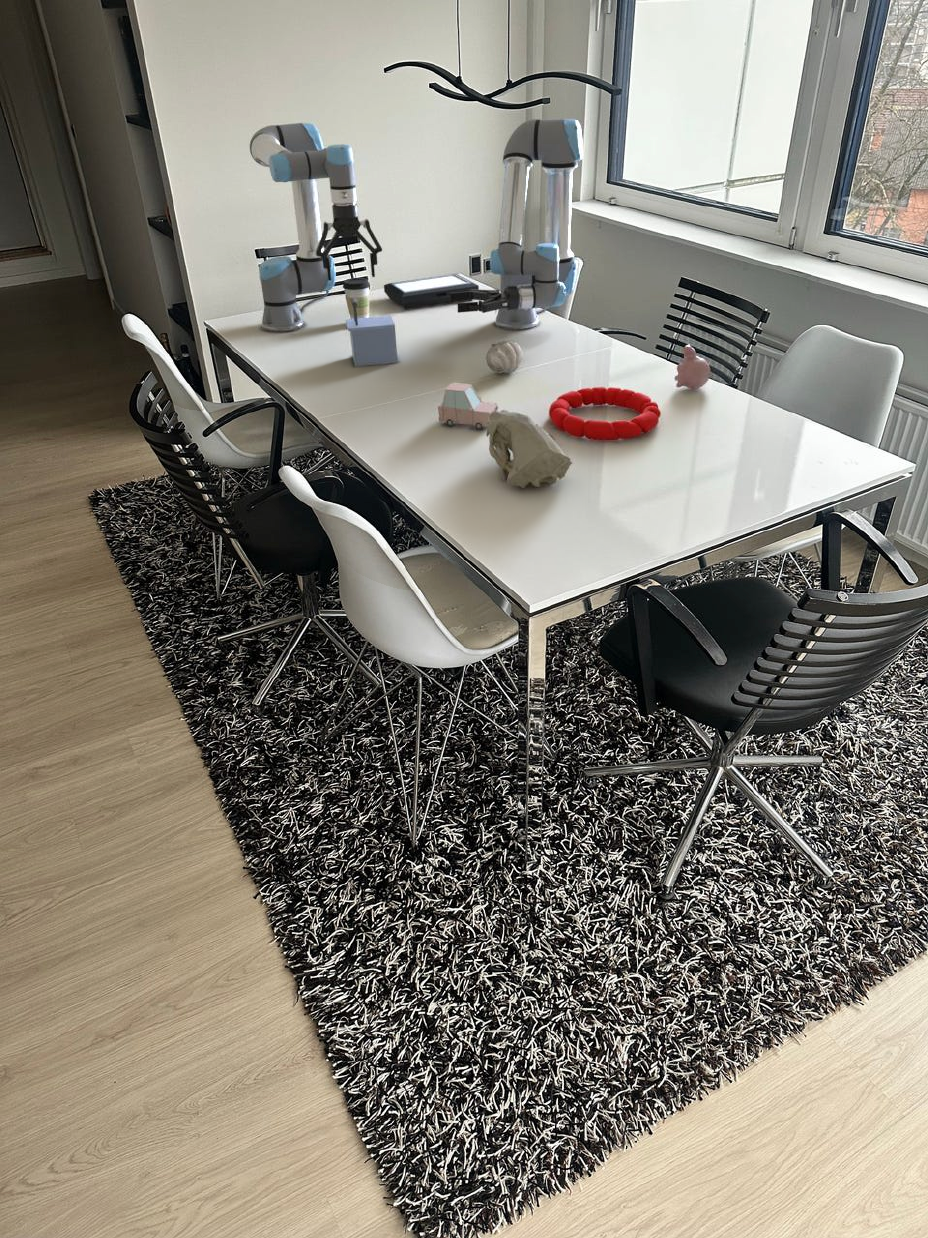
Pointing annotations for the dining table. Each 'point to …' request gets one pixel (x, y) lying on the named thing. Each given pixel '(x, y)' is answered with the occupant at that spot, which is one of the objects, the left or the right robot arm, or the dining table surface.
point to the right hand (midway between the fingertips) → (453, 302)
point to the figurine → (692, 370)
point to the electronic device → (427, 290)
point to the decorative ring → (604, 428)
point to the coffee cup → (357, 296)
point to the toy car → (465, 406)
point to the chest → (374, 346)
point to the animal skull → (525, 450)
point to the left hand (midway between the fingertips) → (351, 277)
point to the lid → (368, 321)
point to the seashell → (504, 356)
